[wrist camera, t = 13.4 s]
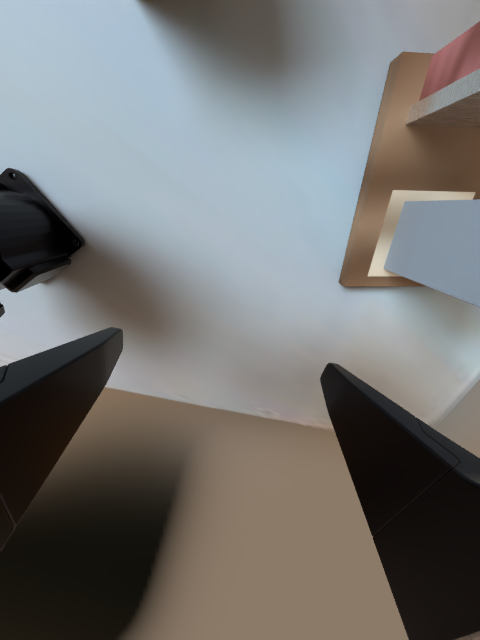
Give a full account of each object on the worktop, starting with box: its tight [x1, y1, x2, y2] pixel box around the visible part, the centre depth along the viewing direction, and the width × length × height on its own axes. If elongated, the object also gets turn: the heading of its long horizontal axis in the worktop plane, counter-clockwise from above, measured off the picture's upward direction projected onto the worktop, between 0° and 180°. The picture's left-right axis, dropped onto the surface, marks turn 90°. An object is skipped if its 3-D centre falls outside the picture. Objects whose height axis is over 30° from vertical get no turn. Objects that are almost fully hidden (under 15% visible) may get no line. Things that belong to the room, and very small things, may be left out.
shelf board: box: [339, 22, 480, 286], centre depth 15 cm, size 16×11×8 cm
